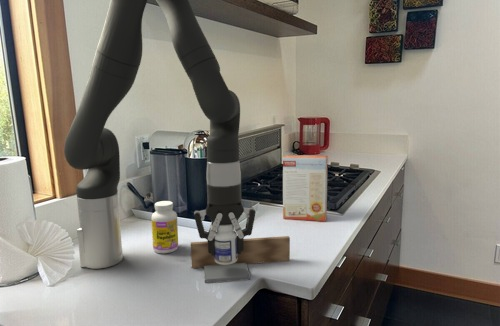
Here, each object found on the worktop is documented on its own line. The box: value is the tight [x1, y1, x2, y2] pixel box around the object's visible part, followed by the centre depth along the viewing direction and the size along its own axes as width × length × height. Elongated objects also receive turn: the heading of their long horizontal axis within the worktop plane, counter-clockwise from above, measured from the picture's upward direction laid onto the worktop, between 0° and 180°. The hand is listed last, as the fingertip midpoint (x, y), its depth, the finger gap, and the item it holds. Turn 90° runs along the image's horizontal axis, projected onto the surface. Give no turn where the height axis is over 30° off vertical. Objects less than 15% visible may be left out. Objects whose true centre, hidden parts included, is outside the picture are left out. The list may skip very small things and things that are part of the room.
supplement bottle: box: [151, 200, 179, 254], centre depth 100 cm, size 7×7×13 cm
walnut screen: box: [190, 235, 291, 269], centre depth 91 cm, size 24×1×6 cm, turn 98°
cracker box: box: [282, 154, 328, 222], centre depth 124 cm, size 14×6×21 cm, turn 74°
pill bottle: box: [214, 224, 238, 265], centre depth 85 cm, size 5×5×9 cm
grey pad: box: [203, 263, 251, 284], centre depth 87 cm, size 10×7×1 cm
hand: (226, 253), depth 86 cm, fingers closed on pill bottle, 5 cm apart
